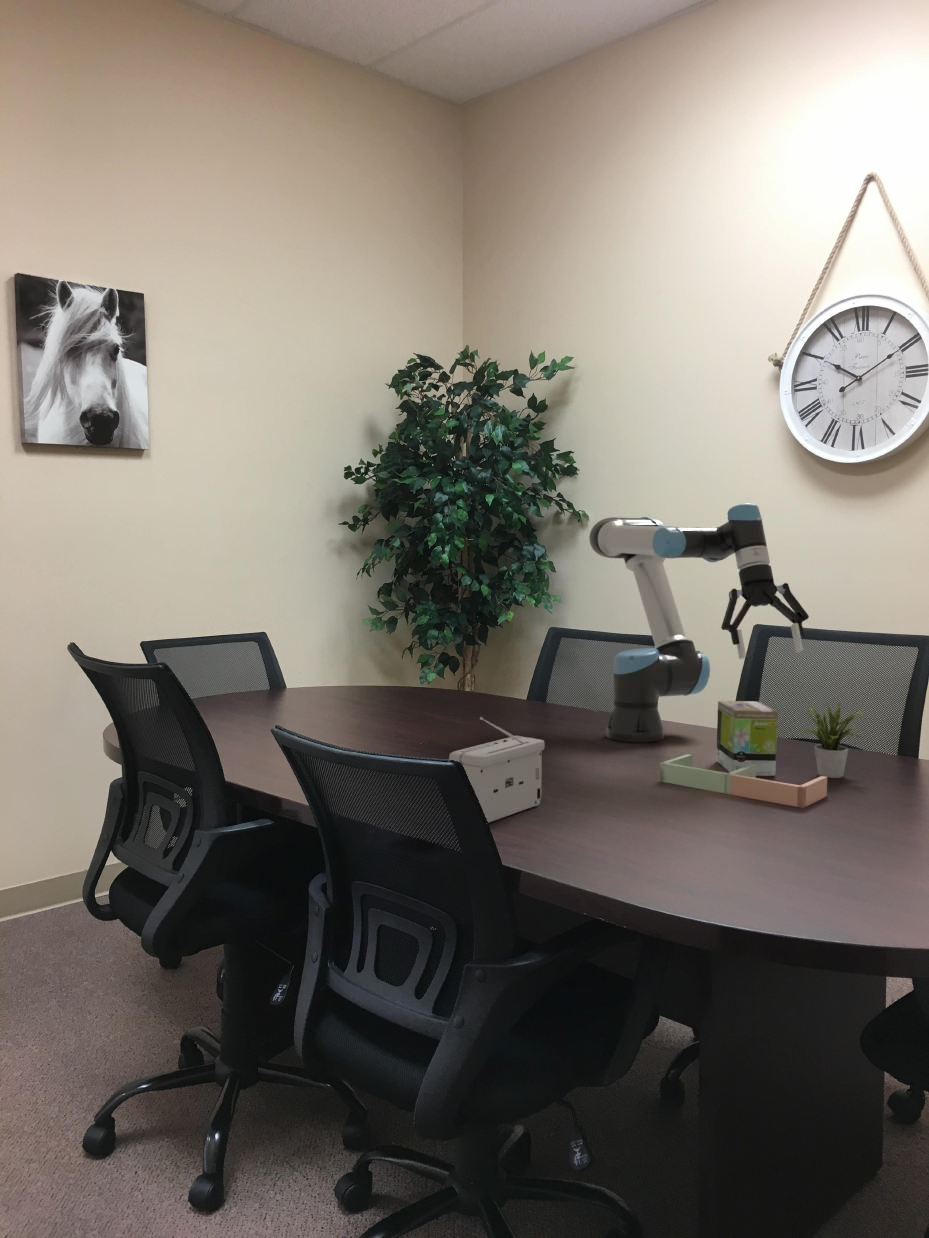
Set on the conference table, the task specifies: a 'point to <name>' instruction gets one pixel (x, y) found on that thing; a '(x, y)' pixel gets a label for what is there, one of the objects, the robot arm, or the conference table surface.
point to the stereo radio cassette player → (504, 773)
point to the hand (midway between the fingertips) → (771, 654)
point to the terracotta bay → (779, 790)
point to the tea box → (747, 736)
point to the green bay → (699, 775)
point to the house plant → (831, 743)
